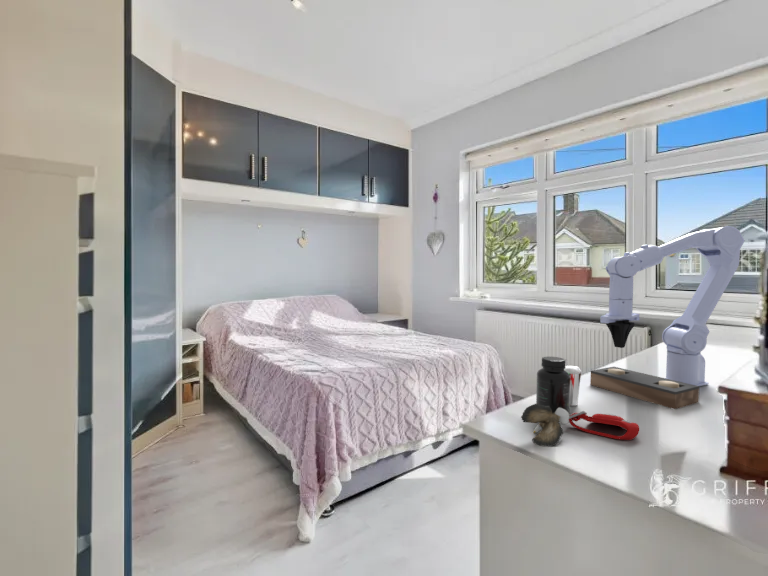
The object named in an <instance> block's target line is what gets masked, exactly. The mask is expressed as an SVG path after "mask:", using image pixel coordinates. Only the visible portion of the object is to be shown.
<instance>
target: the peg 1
mask: <svg viewBox="0 0 768 576" xmlns="http://www.w3.org/2000/svg"><path fill="white" fill-rule="evenodd" d="M608 372H609V373H613V374H617V375H623V374H625V371H624V370H620V369H608Z"/></svg>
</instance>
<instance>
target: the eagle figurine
mask: <svg viewBox="0 0 768 576" xmlns="http://www.w3.org/2000/svg"><path fill="white" fill-rule="evenodd" d="M569 414H570V412H569V413H568V412H567V411H566V410H565V409H563V408H560V407H559V408H557V410H556V411H555V412H554V413H553V414H552V410H551V408H550V407H549V406H544V405H539V404H537V403H536V402H535V403H534V404H532V405H531V404H530V405H529V406H527V407H526V408H525V409H524V410H523V412H522V415H521V417H520V418H521V420H522V422H523V423H530V424H531V423H532V424H537V425H536V427H535V426H534V427H535V428H534V430H533V434H535V433H537V435H535V436H534V437H533V438H532V439H531V441H533V442H532V443H534V444H535V445H536V446H538V447H547V446H548V447H550V446H555V445H556V444H558V442H559V440H560V439H561V437H562V435H563V434H564V429H563V427H561V425H560V424H563V425H567V424H568V423H569ZM538 432H539V433H538Z"/></svg>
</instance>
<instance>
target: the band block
mask: <svg viewBox="0 0 768 576" xmlns="http://www.w3.org/2000/svg"><path fill="white" fill-rule="evenodd" d="M608 369H620V370H624V371H625V374H623V375H617V374H613V373H609V372H608ZM659 381H671V382H676V383H678V384H679V388H670V387H666V386H662V385H659ZM589 385H590V386H593V387H597V388H600V389H603V390H607V391H610V392H614V393H617V394H620V395H624V396H628V397H629V398H630V397H631V398H634V399H638V400H641V401H644V402H648V403H652V404H655V405H659V406H662V407H666V408H668V409H669V408H670V409H673V410H678V409H682V408H685V407H689V406H692V405H696V404H699V403H700V402H699V399H700V398H699V396H700V386H696V385H692V384H687V383H683V382H679V381H674V380H670V379H666V377H661V376H657V375H652V374H647V373H644V372H643V373H642V372H640V371H634V370H629V369H626V368H621V367H618V366H610V367H603V368H598V369H597V368H596V369H592V370H590V383H589Z"/></svg>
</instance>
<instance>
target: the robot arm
mask: <svg viewBox="0 0 768 576" xmlns="http://www.w3.org/2000/svg"><path fill="white" fill-rule="evenodd" d="M745 241H746V240H745V238H744V237H743V235H742V233H741V231H740V230H739V229H738V228H737V227H735V226H732V225H725V226H721V227H716V228H709V229H708V228H704V229H701V230H699V231H698V230H697V231H694V232H689V233H687V234H685V235H682V236H680V237H677V238H675V239H673V240H671V241H668V242H666V243H664V244H660V245H659V246H657V245H655V244H647V243H646V244H642V245H641V246H640V248H638V249H636V250H633V251H631V252H630V251H626V252H624V253H623V255H622V256H615V257H613V258H611V259H609V261H608V263H607V265H606V266H605V270H606V271H605V272H607V273H606V274H608V276H609V289H608V290H609V291H608V295H609V296H608V313H607V312H606V313H605V314H604V315H600V317H599V318H600V319H599V320H600V321H599V322H600V324H601V323H602V324H605V325H606V327H607V328H608V330H609V333H610V334H611V338H612V340H613V341H612V342H613V346H614V348H619V349H623V348H624V349H625V346H626V344H627V341H628V339H629V335H630V334H631V332H632V329H634V327H635V322H631V321H640V313H635V312H634V311H633V309H634V308H633V305H634V304H633V303H634V301H633V299H634V276H635V275H636V274H637V273H638V272H641V271H644V270H647V269H650V268H652V267H654V266H658V265H659V264H661V263H662V262H663V260H664V258H665V257H668V256H671V255H673V254H676V253H680V252H682V251H685V250H688V249H696V250H697V251H698V252H699V253H700V254H701V255H702V256H703V257H704V259H706V260H707V261H708V264H709V267H708V269H707V271H706V273H705V274H704V276H703V278H702V279H701V281H700V283H699V285H698V287H697V289H696V290H695V292H694V294H693V296H692V298H691V299H690V301H689V303H688V305H687V306H686V308H685V310H684V311H683V314H682V315H681V316H679V317H677V318H675V319H673V321H672V323H671V324H670V325H668V326H667V327H666V328H665V329H663V331H662V334H661V339H662V342H663V343H664V345H666V367H665V368H666V372H665V373H666V374H665V378H666V379H670V380H674V381H679V382H683V383H687V384H692V385H696V386H699V387H702V386H707V385H709V382H707V381H705V380H706V360H705V357H704V356H703V355H702V354H701V353H702V351H704V350H705V348H706V347H707V344H708V343H707V340H708V339H707V338H708V335H709V334H710V329H709V327H708V326H707V322H708V320H709V319H710V316H711V315H712V313H713V311H714V310H715V308H716V306H717V305H718V303H719V301H720V299H721V298H722V296H723V294H724V292H725V291H726V289H727V287H728V286H729V283H730V282H731V280H732V279H733V276H734V275H735V273H736V272H737V269H738V268H739V266H740V259H741V258H740V257H741V255H740V253H741V248H742V246H743V245H744V243H745ZM633 312H634V313H633Z"/></svg>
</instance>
